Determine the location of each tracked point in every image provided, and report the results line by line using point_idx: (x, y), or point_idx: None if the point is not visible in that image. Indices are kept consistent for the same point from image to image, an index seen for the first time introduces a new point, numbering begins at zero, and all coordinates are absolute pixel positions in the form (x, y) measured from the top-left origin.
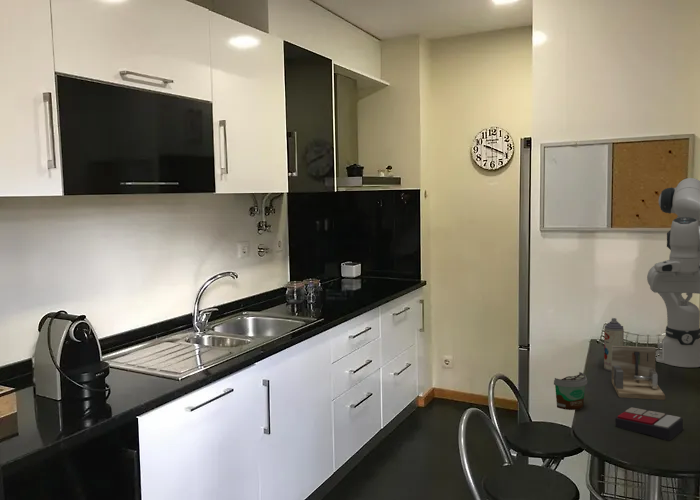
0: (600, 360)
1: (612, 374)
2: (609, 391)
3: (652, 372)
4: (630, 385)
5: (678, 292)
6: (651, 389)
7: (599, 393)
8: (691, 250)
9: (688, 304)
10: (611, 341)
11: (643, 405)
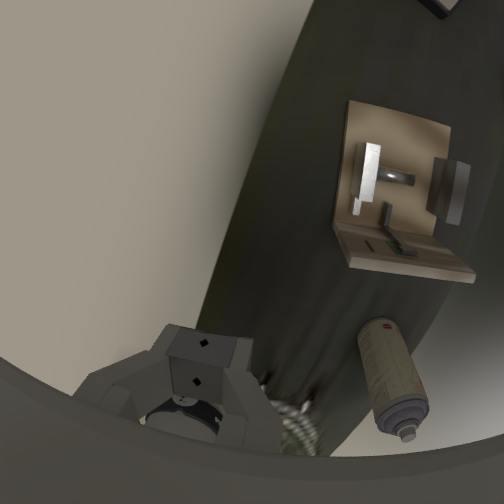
0: None
1: (436, 240)
2: None
3: (375, 163)
4: None
5: (249, 451)
6: None
7: (474, 159)
8: None
9: (164, 328)
10: (413, 370)
11: (407, 69)
